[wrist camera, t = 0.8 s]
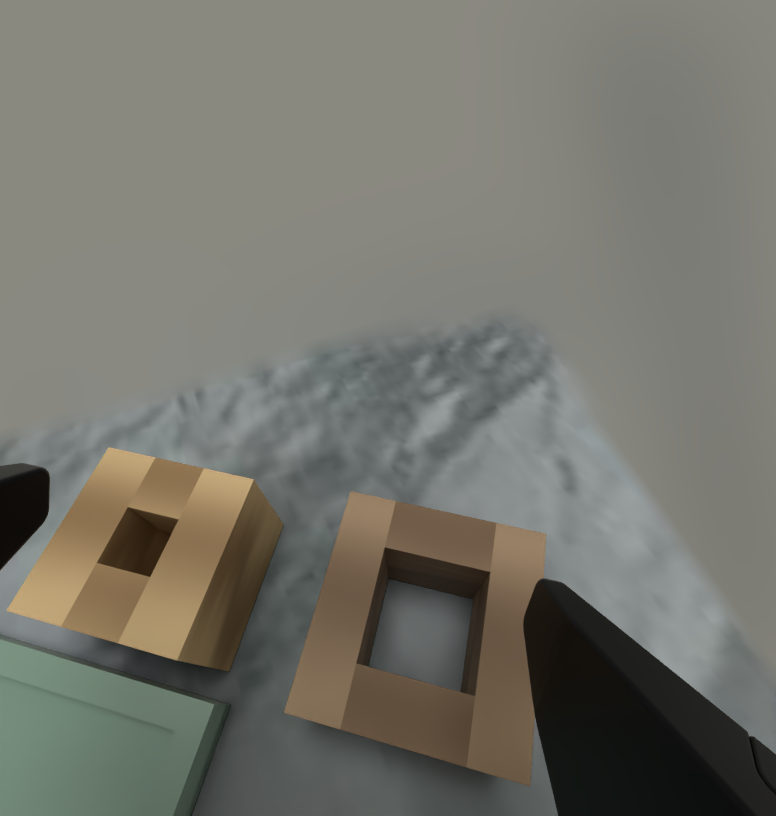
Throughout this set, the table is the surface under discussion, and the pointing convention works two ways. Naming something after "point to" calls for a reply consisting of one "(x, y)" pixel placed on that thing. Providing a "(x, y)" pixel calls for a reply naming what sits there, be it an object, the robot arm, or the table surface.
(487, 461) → the table surface
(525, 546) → the walnut block
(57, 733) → the green tray
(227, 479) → the oak block
